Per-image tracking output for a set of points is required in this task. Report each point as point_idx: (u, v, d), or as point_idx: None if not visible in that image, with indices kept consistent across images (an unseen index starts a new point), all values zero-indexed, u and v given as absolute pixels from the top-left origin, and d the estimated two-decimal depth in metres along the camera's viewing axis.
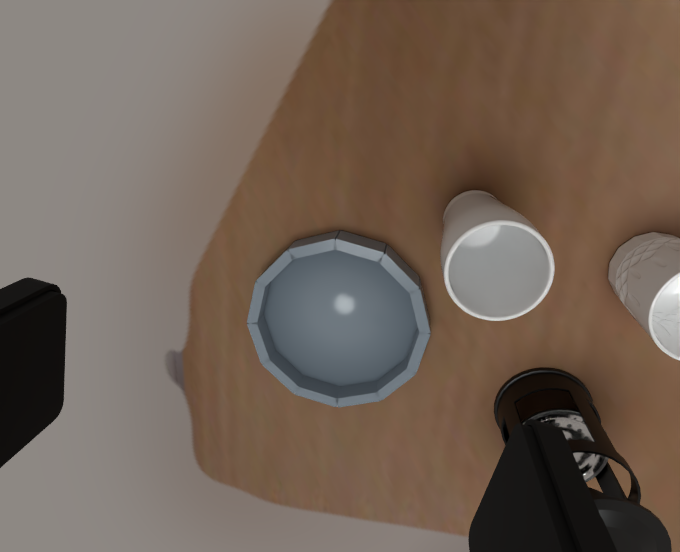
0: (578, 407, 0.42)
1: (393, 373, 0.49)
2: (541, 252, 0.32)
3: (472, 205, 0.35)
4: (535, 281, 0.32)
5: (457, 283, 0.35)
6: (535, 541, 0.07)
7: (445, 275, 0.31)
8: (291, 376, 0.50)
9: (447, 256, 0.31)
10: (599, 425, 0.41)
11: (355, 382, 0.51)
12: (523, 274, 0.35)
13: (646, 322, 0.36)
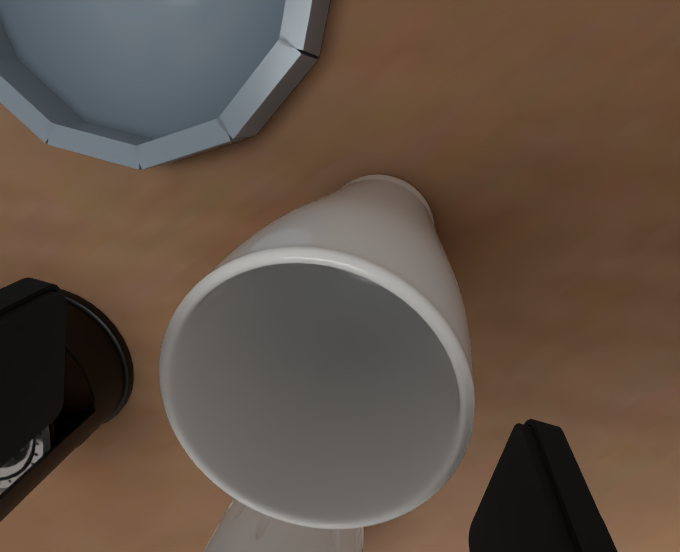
0: (60, 443, 0.24)
1: (39, 94, 0.23)
2: (359, 449, 0.13)
3: None
4: (286, 445, 0.13)
5: None
6: (535, 541, 0.07)
7: (281, 254, 0.09)
8: None
9: (348, 256, 0.09)
10: (32, 487, 0.23)
11: None
12: (295, 384, 0.15)
13: None
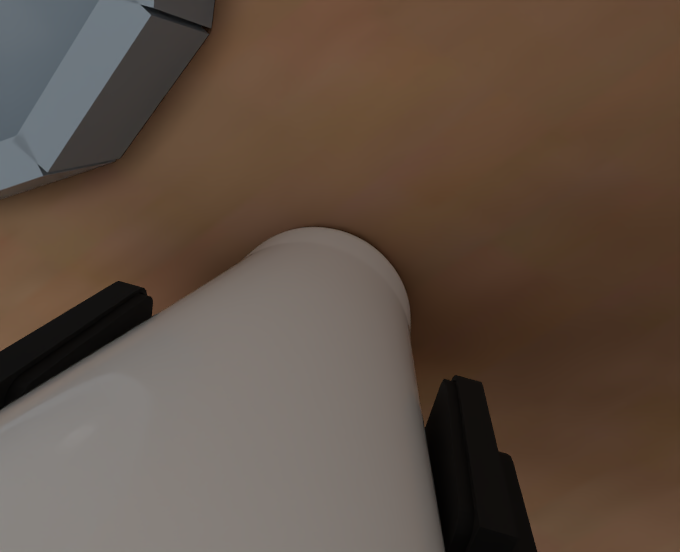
0: None
1: None
2: None
3: (435, 531, 0.06)
4: None
5: None
6: (442, 474, 0.08)
7: None
8: None
9: None
10: None
11: None
12: None
13: None
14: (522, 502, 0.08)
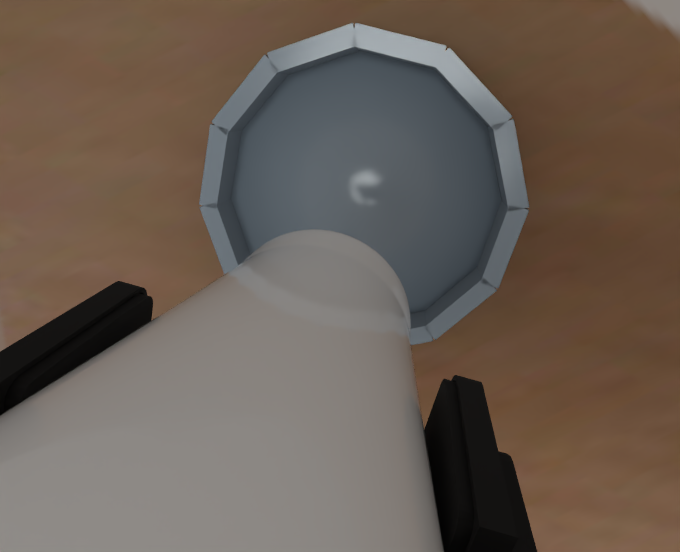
0: None
1: None
2: None
3: (434, 537, 0.06)
4: None
5: None
6: (442, 474, 0.08)
7: None
8: (244, 115, 0.26)
9: None
10: None
11: (243, 225, 0.30)
12: None
13: None
14: (522, 502, 0.08)
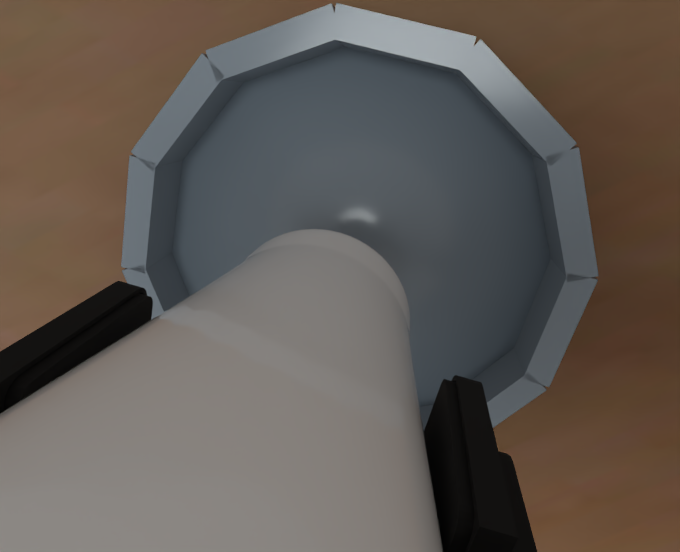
0: None
1: None
2: None
3: (433, 537, 0.06)
4: None
5: None
6: (442, 474, 0.08)
7: None
8: (179, 142, 0.18)
9: None
10: None
11: (190, 288, 0.22)
12: None
13: None
14: (522, 502, 0.08)
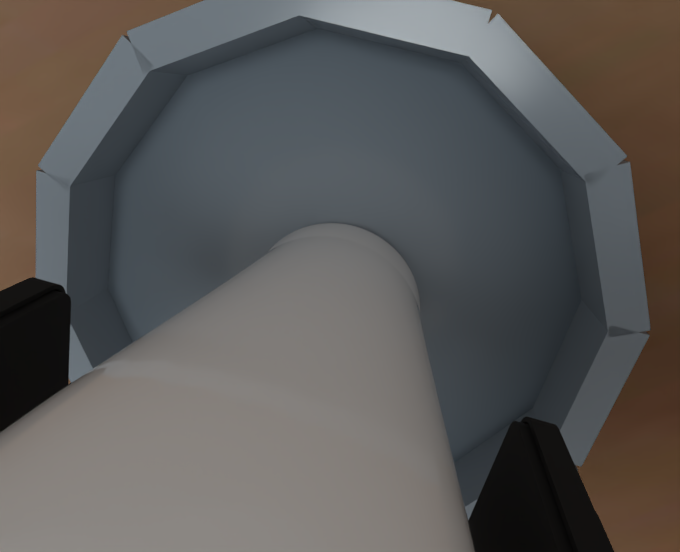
0: None
1: None
2: None
3: (453, 471, 0.07)
4: None
5: None
6: (530, 537, 0.07)
7: None
8: (102, 153, 0.14)
9: None
10: None
11: (132, 330, 0.18)
12: None
13: None
14: None
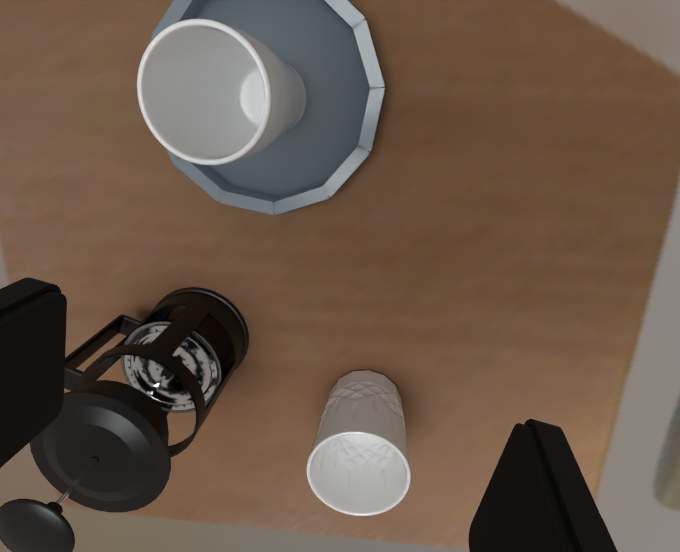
0: (225, 378, 0.40)
1: (210, 173, 0.39)
2: None
3: (286, 70, 0.28)
4: (203, 152, 0.27)
5: (183, 60, 0.27)
6: (535, 541, 0.07)
7: (185, 21, 0.22)
8: None
9: (211, 20, 0.22)
10: (214, 402, 0.39)
11: None
12: (211, 144, 0.29)
13: (341, 429, 0.37)
14: None
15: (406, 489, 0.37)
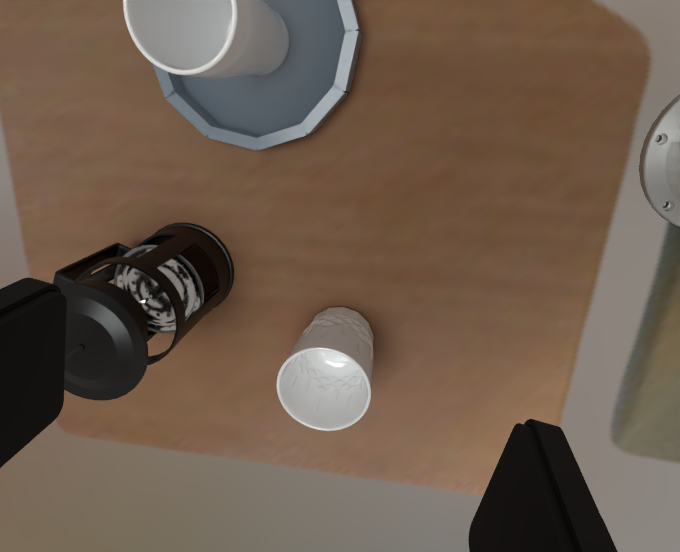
0: (207, 301, 0.44)
1: (200, 111, 0.42)
2: None
3: (260, 1, 0.32)
4: (182, 68, 0.30)
5: None
6: (535, 541, 0.07)
7: None
8: None
9: None
10: (196, 322, 0.43)
11: None
12: (193, 67, 0.32)
13: (309, 346, 0.40)
14: None
15: (367, 405, 0.40)
